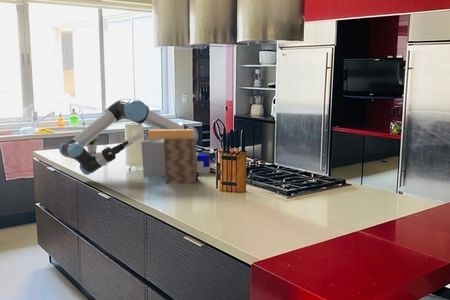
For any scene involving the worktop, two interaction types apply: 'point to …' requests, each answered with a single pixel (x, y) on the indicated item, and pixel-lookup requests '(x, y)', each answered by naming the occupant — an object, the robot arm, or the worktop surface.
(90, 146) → the house plant
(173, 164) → the walnut stand
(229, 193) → the worktop surface
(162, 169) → the plinth
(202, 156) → the puzzle toy
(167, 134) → the orange bar
